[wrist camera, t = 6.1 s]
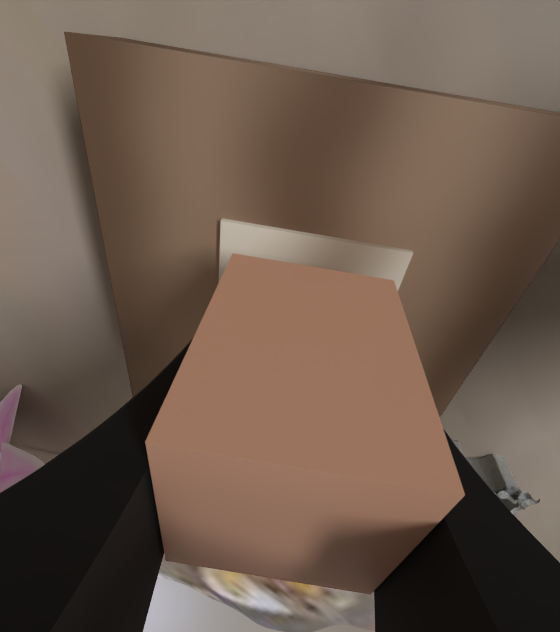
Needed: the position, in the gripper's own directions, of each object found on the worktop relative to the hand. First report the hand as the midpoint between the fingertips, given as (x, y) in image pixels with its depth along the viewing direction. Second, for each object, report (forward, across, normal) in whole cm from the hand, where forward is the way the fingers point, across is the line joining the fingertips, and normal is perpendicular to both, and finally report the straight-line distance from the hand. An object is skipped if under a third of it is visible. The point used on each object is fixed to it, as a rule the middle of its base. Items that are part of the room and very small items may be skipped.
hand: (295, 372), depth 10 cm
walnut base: (+6, 0, 0) cm, 6 cm away
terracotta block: (+2, 0, 0) cm, 2 cm away
